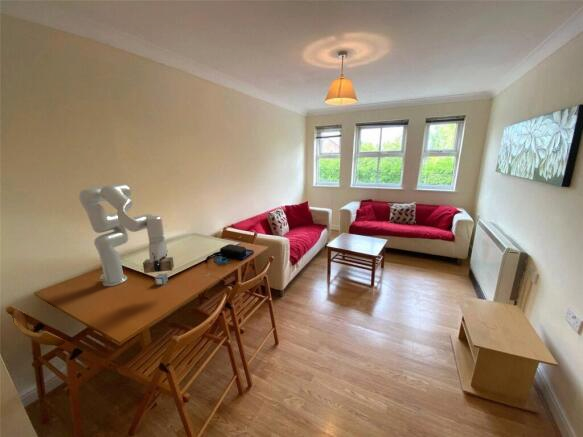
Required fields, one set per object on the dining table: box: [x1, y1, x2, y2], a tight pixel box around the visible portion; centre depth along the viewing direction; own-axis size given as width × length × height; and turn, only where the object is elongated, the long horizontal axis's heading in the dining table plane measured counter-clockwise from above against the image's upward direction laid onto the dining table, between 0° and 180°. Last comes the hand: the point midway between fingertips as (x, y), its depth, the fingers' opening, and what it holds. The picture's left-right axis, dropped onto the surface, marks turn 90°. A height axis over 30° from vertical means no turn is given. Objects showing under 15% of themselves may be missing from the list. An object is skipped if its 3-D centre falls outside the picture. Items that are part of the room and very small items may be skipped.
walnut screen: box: [142, 256, 175, 274], centre depth 135 cm, size 14×5×6 cm, turn 103°
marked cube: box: [154, 273, 169, 286], centre depth 149 cm, size 5×5×5 cm
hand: (161, 268), depth 136 cm, fingers closed on walnut screen, 5 cm apart
